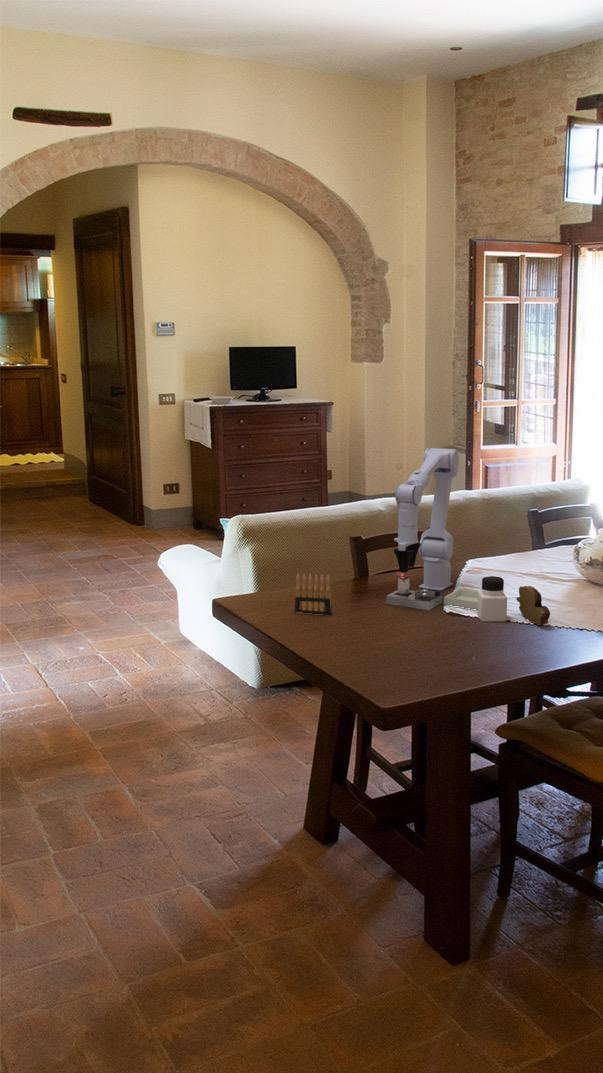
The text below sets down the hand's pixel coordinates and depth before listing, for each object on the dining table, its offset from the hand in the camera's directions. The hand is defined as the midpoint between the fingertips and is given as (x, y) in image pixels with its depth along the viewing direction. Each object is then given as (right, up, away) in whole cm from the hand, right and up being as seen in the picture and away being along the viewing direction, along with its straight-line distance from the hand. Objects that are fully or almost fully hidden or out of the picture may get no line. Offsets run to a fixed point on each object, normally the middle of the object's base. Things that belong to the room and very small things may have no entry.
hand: (407, 569), depth 294 cm
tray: (+18, -10, +1) cm, 21 cm away
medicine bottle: (+23, -14, -13) cm, 30 cm away
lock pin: (-1, -10, +4) cm, 11 cm away
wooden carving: (+34, -14, -16) cm, 40 cm away
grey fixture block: (+2, -10, +2) cm, 11 cm away
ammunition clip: (-28, -13, -8) cm, 32 cm away
